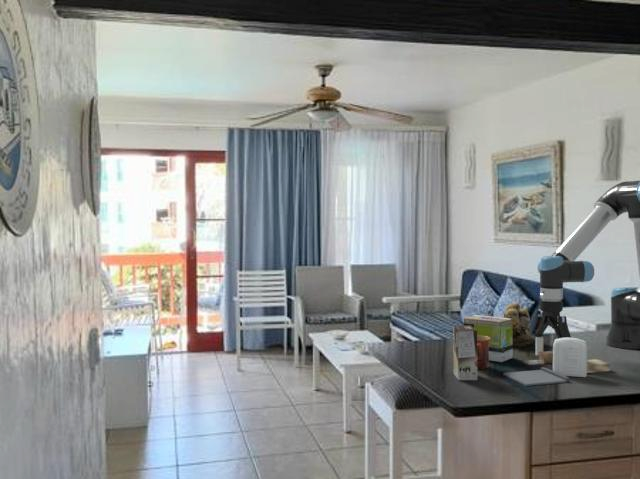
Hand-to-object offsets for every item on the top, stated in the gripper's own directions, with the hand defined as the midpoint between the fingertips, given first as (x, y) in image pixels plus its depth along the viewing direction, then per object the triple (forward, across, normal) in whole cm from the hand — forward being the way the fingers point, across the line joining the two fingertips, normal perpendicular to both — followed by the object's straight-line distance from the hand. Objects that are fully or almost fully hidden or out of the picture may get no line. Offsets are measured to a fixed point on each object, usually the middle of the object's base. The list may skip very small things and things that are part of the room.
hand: (550, 359), depth 205 cm
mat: (+1, +17, -17) cm, 24 cm away
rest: (+1, +13, +5) cm, 14 cm away
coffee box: (+1, +9, -38) cm, 39 cm away
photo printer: (+1, +17, -5) cm, 18 cm away
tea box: (+1, -12, -18) cm, 22 cm away
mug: (+1, +1, -29) cm, 29 cm away
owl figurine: (+1, -28, +4) cm, 28 cm away
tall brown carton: (+1, 0, -3) cm, 3 cm away
